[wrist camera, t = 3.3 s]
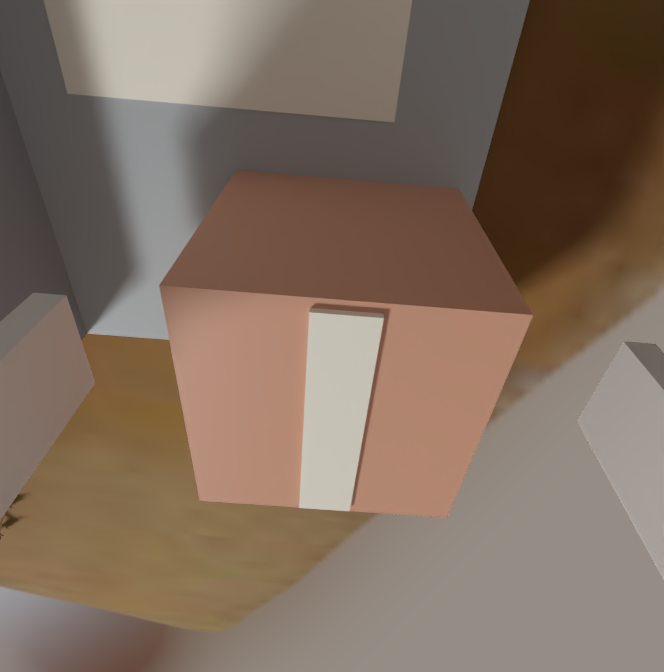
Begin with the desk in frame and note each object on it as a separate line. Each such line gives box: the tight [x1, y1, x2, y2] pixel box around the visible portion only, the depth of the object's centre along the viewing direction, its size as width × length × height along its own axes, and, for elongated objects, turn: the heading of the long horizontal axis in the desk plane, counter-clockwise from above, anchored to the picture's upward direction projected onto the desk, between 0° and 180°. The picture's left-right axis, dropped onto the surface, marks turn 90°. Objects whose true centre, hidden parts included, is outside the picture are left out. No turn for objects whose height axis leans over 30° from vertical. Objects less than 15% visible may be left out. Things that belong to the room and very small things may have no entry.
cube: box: [159, 170, 533, 518], centre depth 11 cm, size 6×6×6 cm
